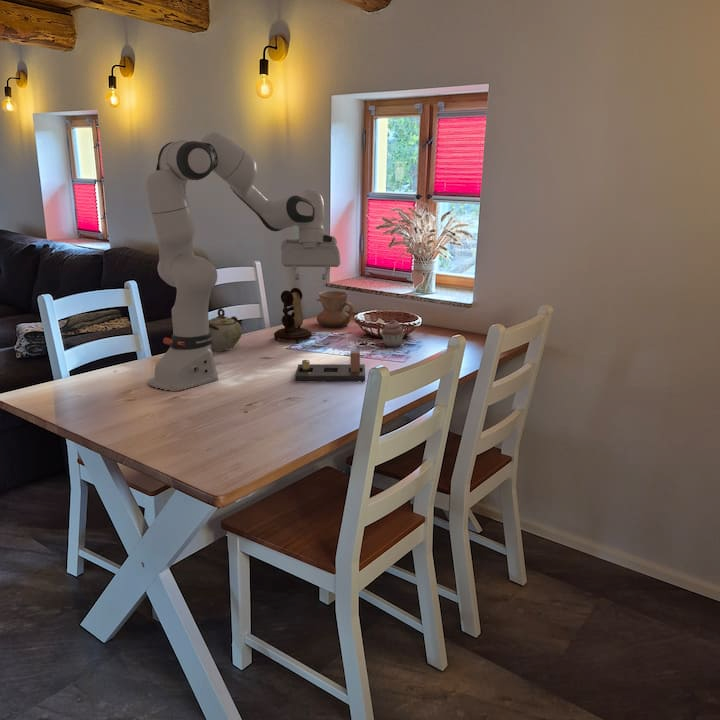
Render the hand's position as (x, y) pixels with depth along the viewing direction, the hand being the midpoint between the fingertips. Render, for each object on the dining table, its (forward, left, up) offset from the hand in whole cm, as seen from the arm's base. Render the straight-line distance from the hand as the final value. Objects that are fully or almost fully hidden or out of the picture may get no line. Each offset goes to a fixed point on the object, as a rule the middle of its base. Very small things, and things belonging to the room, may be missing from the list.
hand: (310, 279), depth 213 cm
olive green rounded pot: (-7, +36, -28) cm, 46 cm away
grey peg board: (-15, -17, -28) cm, 36 cm away
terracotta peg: (-11, -24, -28) cm, 39 cm away
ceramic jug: (+45, +19, -28) cm, 56 cm away
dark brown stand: (+17, +21, -28) cm, 39 cm away
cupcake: (+29, -17, -28) cm, 44 cm away
